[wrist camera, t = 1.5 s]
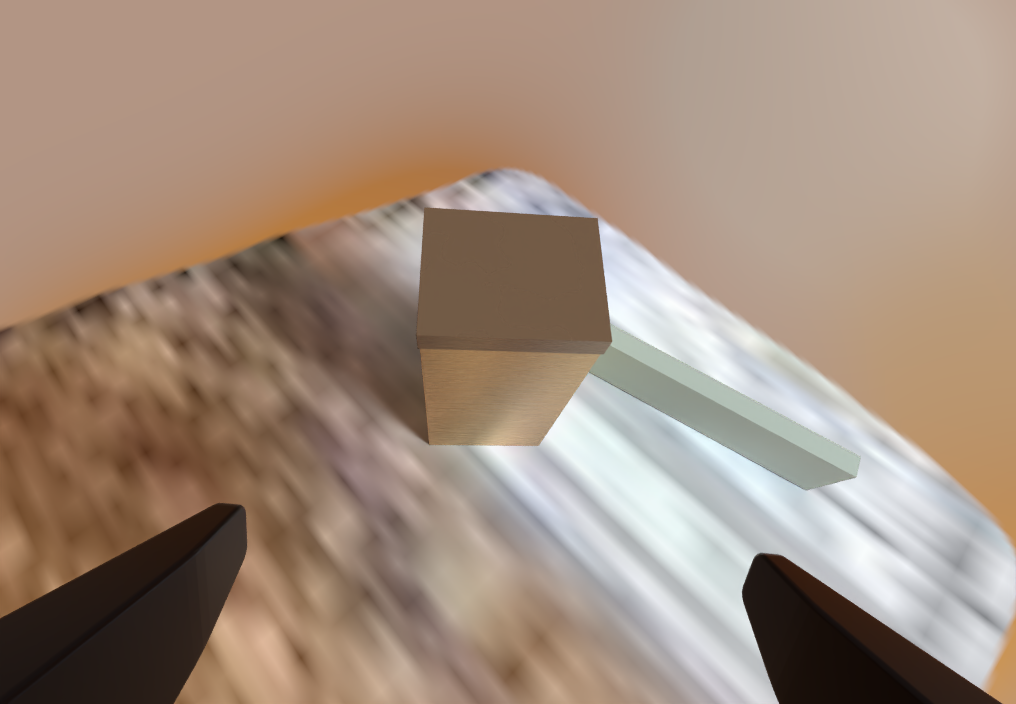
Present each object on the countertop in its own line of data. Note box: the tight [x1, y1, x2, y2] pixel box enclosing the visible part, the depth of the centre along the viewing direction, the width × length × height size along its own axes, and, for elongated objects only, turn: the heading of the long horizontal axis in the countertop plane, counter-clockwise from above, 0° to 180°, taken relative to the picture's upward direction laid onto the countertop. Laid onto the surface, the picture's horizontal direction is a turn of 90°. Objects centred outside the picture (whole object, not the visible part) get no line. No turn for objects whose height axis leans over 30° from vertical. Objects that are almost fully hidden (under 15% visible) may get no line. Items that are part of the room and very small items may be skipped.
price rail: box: [589, 324, 861, 490], centre depth 24 cm, size 18×1×3 cm, turn 61°
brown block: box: [416, 208, 612, 446], centre depth 19 cm, size 5×4×11 cm
